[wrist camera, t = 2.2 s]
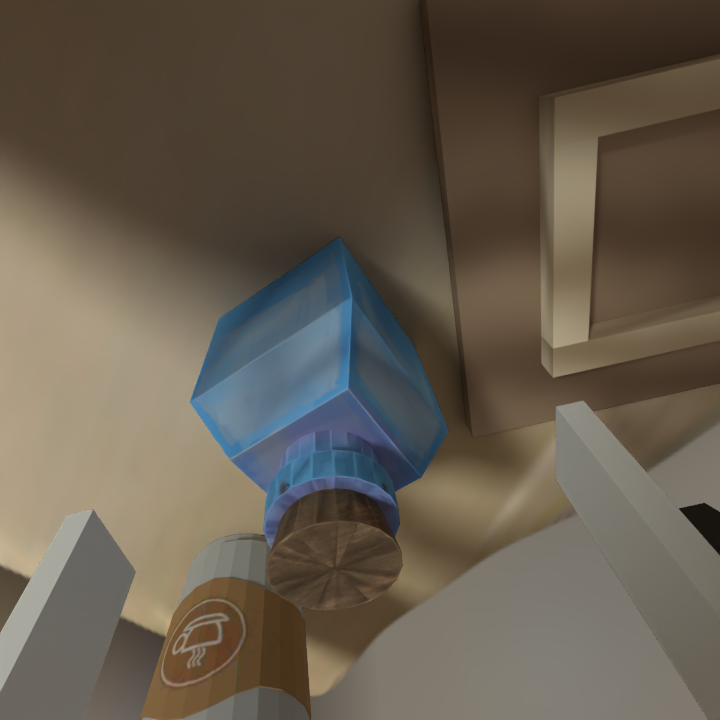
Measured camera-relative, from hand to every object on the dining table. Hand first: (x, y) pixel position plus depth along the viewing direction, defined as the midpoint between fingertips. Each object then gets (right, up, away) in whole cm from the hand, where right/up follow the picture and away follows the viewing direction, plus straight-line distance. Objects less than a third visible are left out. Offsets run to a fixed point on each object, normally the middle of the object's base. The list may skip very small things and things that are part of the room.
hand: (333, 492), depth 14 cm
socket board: (+13, +10, +6) cm, 18 cm away
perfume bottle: (-1, +5, +8) cm, 9 cm away
